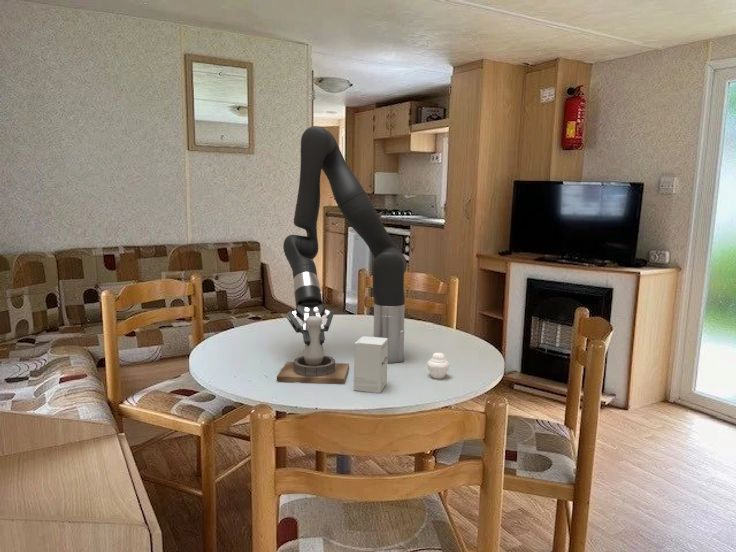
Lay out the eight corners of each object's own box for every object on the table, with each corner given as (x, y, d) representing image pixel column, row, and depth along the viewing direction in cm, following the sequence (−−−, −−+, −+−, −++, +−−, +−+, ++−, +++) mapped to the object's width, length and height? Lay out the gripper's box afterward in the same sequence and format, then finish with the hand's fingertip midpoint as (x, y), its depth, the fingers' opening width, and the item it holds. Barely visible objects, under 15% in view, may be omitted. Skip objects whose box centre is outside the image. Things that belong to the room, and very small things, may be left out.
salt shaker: (309, 358, 150) (309, 313, 148) (327, 361, 148) (328, 315, 146) (299, 364, 145) (299, 317, 143) (318, 367, 143) (318, 320, 141)
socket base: (349, 368, 153) (349, 355, 152) (344, 384, 140) (344, 369, 139) (287, 366, 154) (287, 353, 153) (276, 381, 141) (276, 367, 141)
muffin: (436, 371, 151) (437, 347, 150) (453, 377, 147) (454, 352, 146) (421, 376, 147) (422, 351, 146) (438, 382, 143) (439, 356, 142)
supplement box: (380, 393, 134) (381, 344, 132) (352, 390, 136) (353, 342, 134) (387, 384, 141) (388, 337, 139) (360, 381, 143) (361, 335, 141)
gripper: (284, 284, 149) (290, 338, 139) (333, 283, 153) (342, 335, 143) (281, 299, 154) (287, 352, 145) (329, 298, 158) (337, 349, 149)
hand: (315, 343), depth 144 cm, fingers closed on salt shaker, 3 cm apart
